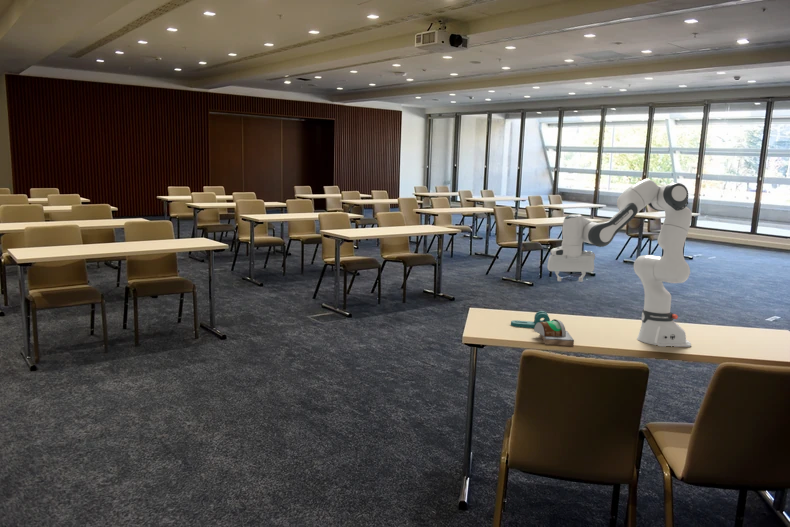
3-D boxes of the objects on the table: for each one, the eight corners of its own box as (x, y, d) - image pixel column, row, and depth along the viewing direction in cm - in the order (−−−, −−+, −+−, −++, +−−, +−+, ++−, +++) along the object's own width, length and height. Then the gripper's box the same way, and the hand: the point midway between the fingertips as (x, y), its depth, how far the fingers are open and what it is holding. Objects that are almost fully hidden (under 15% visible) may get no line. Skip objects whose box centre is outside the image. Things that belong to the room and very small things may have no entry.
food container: (533, 316, 275) (553, 316, 278) (532, 330, 276) (552, 329, 279) (547, 323, 264) (567, 322, 266) (546, 337, 264) (566, 336, 267)
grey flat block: (566, 337, 278) (566, 330, 277) (573, 346, 262) (574, 339, 262) (539, 335, 279) (540, 329, 278) (545, 345, 263) (545, 338, 263)
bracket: (547, 327, 297) (549, 311, 295) (549, 330, 290) (550, 314, 289) (510, 324, 299) (511, 308, 298) (510, 327, 293) (512, 311, 292)
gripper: (593, 250, 274) (591, 280, 276) (547, 249, 276) (546, 279, 278) (597, 252, 268) (595, 282, 270) (549, 251, 269) (548, 282, 272)
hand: (569, 281), depth 274 cm, fingers open, 8 cm apart
